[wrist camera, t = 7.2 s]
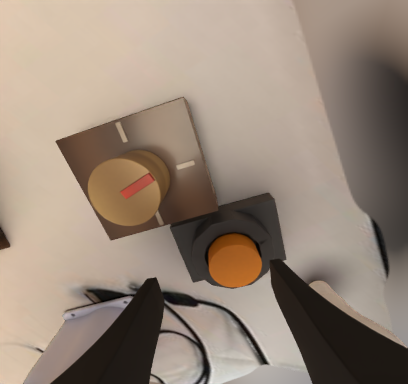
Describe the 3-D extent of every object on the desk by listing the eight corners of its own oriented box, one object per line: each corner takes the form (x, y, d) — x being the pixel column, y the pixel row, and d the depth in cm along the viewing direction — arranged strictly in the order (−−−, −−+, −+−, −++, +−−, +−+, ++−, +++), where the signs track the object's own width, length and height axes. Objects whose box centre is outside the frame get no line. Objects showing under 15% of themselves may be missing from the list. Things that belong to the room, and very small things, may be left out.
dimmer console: (123, 223, 20) (109, 241, 17) (79, 137, 17) (53, 141, 14) (216, 197, 19) (219, 211, 16) (187, 101, 16) (183, 96, 13)
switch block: (194, 272, 22) (192, 298, 19) (172, 218, 20) (165, 237, 16) (280, 250, 21) (294, 274, 18) (268, 190, 19) (282, 205, 15)
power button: (215, 277, 18) (216, 292, 17) (202, 240, 17) (201, 252, 15) (260, 266, 18) (266, 281, 16) (250, 227, 16) (256, 238, 15)
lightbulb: (283, 270, 22) (355, 402, 12) (338, 256, 21) (464, 383, 11) (292, 307, 24) (359, 448, 14) (342, 296, 23) (452, 434, 13)
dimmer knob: (138, 213, 16) (118, 240, 12) (101, 169, 15) (68, 185, 11) (181, 186, 15) (174, 206, 12) (146, 137, 14) (126, 143, 10)
